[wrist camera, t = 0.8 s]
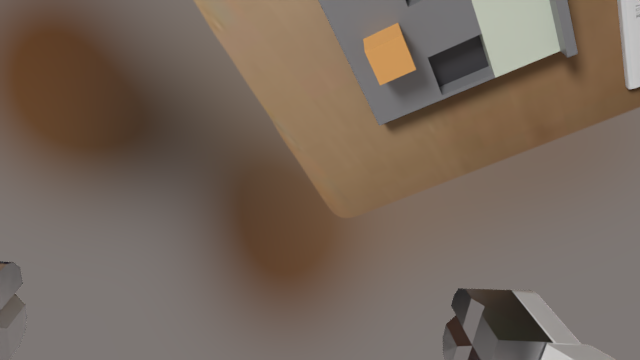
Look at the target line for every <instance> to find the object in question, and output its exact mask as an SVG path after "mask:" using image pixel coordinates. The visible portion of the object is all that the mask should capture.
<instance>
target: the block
mask: <svg viewBox="0 0 640 360" xmlns="http://www.w3.org/2000/svg"><path fill="white" fill-rule="evenodd" d="M363 42H364V50H365V54H366V56H367V58H368V60H369V63H370V65H371V67H372V69H373V71H374V73H375V76H376V78H377V80H378V82H379V84H380V85H383V84H385V83H387V82H389V81H392V80H394V79H396V78H399V77H401V76H403V75H405V74H408V73H410V72H412V71H414V70H416V67H415V64H414V62H413V59H412V56H411V53H410V51H409V48H408V46H407V43H406V41H405V38H404V36H403V34H402V31H401V29H400V26H399V24H398V23H396V24H394V25H392V26H390V27H388V28H385V29H383V30H381V31H379V32H377V33H375V34H373V35H371V36H369V37H367V38H364V39H363Z"/></svg>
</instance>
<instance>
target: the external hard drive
mask: <svg viewBox="0 0 640 360" xmlns="http://www.w3.org/2000/svg"><path fill="white" fill-rule="evenodd" d="M617 3H618V13H619V24H620V34H621V44H622V54H623V65H624V74H625V84H626V87H627V88H628V89H635V88H638V87H640V0H617Z"/></svg>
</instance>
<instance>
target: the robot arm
mask: <svg viewBox="0 0 640 360" xmlns="http://www.w3.org/2000/svg"><path fill="white" fill-rule="evenodd" d="M22 284H23V282H22V276H21V270H20V267H19V266H18V265H16V264H15V263H14V262H3V261H0V360H9V359H11V358H12V356H13V355H14V354H15V352H16V351H17V349H18V348H19V346H20V344H21V341H22V338H23V335H24V333H25V330H26V319H27V314H26V305H25V304H24V303H23V302H22V301H21V300H20V298H18V296H17V295H16V294H15V293H16V291H17V290H18V289H19V288H20V287H21V285H22ZM451 306H452V309H453V311H454V312H455V314H456V315H455V316H454V317H453V318H452V319H451V320H450V321H449V322H448V323H447V324H446V326H445V331H444V335H443V355H444V359H445V360H616V359H614V358H612V357H610V356H609V355H607V354H605V353H603V352H601V351H600V350H598V349H596V348H594V347H592V346H590V345H583V344H581V343H580V342H579V341H578V340H577V338H576V337H575V336H574V335H573V334H572V333H571V332H570V330H569V329H568V328H567V327H566V326H565V325H564V324H563V322H562V321H561V320H560V319H559V318H558V317H557V316H556V314H555V313H554V312H553V311H552V310H551V309H550V308H549V307H548V305H547V304H546V303H545V302H544V301H543V300H542V298H541V297H540V296H539V295H538V294H537V293H535V292H533V291H531V290H492V289H463V288H458V290H457V291H456V293H455V294H454V297H453V300H452V305H451Z"/></svg>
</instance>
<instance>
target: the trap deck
mask: <svg viewBox="0 0 640 360" xmlns="http://www.w3.org/2000/svg"><path fill="white" fill-rule="evenodd" d="M319 2H320V5H321V7H322V9H323V11H324V13H325V15H326V17H327V19H328V21H329V23H330V25H331V27H332V29H333V31H334V33H335V35H336V37H337V40H338V42H339V44H340V46H341V48H342V50H343V52H344V54H345V56H346V58H347V60H348V62H349V64H350V66H351V68H352V70H353V72H354V75H355V77H356V79H357V81H358V83H359V85H360V87H361V89H362V91H363V93H364V95H365V97H366V99H367V101H368V103H369V105H370V107H371V110H372V112H373V114H374V116H375V118H376V120H377V122H378V124H379V126H380V125H382V124H384V123H387V122H389V121H392V120H394V119H397V118H399V117H401V116H404V115H406V114H409V113H411V112H414V111H416V110H418V109H421V108H423V107H426V106H428V105H431V104H433V103H435V102H438V101H440V100H443V99H445V98H447V97H450V96H452V95H455V94H457V93H460V92H462V91H464V90H467V89H469V88H472V87H474V86H477V85H479V84H481V83H484V82H486V81H489V80H491V79H494V78H496V77H498V76H501V75H503V74H506V73H508V72H510V71H513V70H515V69H518V68H520V67H523V66H525V65H527V64H530V63H532V62H535V61H537V60H540V59H542V58H544V57H547V56H549V55H552V54H554V53H557V52H559V51H561V52H562V53H563V54H564V55H565V56H567V57H571V56H573V55H576V54H578V52H577V47H576V42H575V37H574V32H573V27H572V21H571V16H570V11H569V6H568V1H567V0H319ZM396 23H398V24H399V26H400V29H401V31H402V34H403V36H404V38H405V41H406V43H407V46H408V48H409V51H410V53H411V56H412V59H413V62H414V64H415V67H416V70H414V71H412V72H410V73H408V74H405V75H403V76H401V77H399V78H396V79H394V80H392V81H389V82H387V83H385V84H383V85H380V84H379V82H378V80H377V78H376V76H375V73H374V71H373V69H372V67H371V65H370V63H369V60H368V58H367V56H366V54H365V50H364V42H363V39H364V38H367V37H369V36H371V35H373V34H375V33H377V32H379V31H381V30H383V29H385V28H388V27H390V26H392V25H394V24H396Z"/></svg>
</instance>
